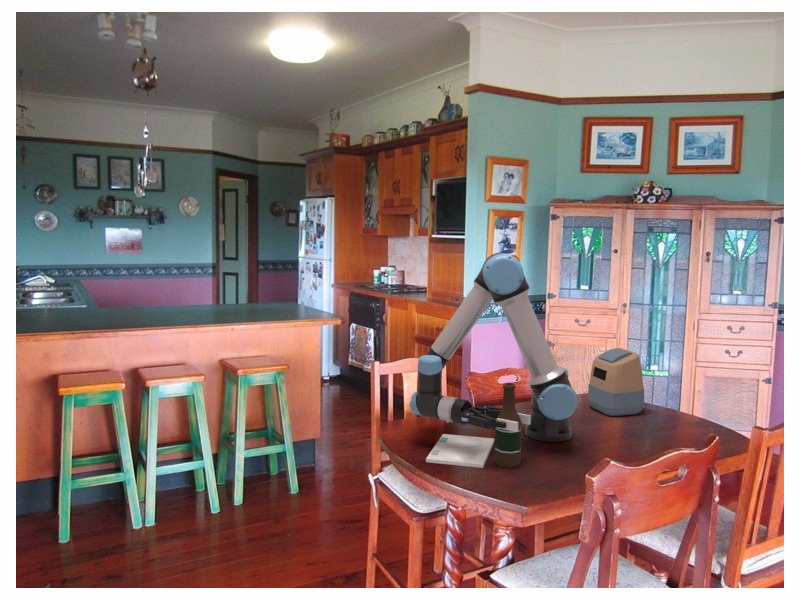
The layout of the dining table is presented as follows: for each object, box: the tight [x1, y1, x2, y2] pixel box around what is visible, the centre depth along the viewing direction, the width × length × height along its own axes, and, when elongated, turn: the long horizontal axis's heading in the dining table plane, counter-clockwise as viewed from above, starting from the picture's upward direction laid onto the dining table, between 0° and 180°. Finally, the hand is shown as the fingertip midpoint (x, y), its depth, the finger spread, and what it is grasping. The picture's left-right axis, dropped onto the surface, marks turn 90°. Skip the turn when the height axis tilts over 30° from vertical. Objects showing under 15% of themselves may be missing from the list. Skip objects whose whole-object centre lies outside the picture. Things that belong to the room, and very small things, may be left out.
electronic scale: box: [425, 433, 495, 469], centre depth 200 cm, size 17×24×1 cm
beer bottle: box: [494, 382, 522, 469], centre depth 189 cm, size 8×8×24 cm
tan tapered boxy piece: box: [587, 347, 645, 417], centre depth 243 cm, size 17×17×23 cm
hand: (523, 423), depth 186 cm, fingers closed on beer bottle, 7 cm apart
